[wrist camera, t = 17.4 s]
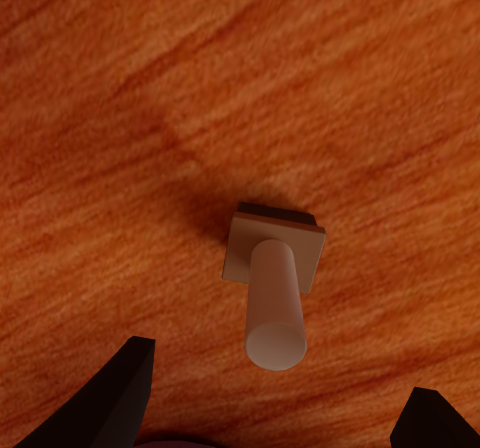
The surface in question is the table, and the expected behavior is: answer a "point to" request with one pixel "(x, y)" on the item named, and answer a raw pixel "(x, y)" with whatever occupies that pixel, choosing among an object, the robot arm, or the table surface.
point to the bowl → (172, 445)
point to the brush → (273, 279)
